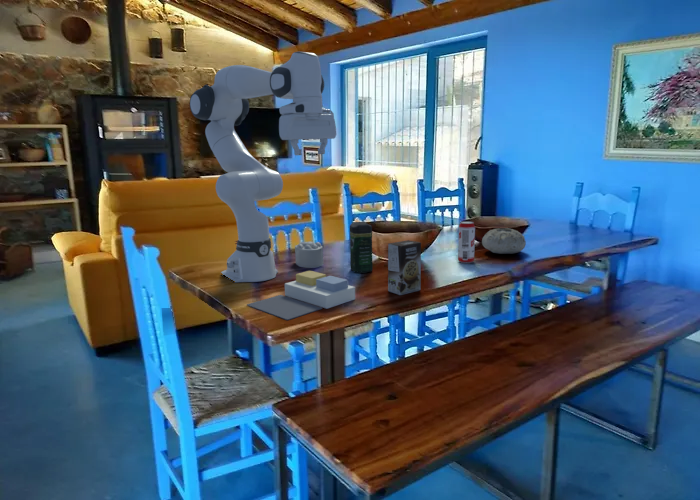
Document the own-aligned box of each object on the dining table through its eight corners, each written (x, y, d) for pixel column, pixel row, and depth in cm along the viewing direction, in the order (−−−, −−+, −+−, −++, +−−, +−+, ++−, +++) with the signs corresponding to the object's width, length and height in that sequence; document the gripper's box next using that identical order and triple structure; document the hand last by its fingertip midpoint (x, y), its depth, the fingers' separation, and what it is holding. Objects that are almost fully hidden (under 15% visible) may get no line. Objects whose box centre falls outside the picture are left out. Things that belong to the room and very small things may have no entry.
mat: (246, 305, 156) (246, 304, 156) (280, 295, 165) (280, 294, 165) (287, 320, 143) (287, 319, 142) (322, 308, 151) (322, 307, 151)
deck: (285, 295, 165) (284, 283, 164) (313, 287, 174) (312, 276, 173) (326, 308, 151) (326, 295, 151) (355, 299, 160) (354, 286, 159)
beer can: (457, 263, 201) (458, 223, 198) (458, 259, 207) (459, 220, 203) (473, 264, 199) (474, 223, 196) (474, 260, 205) (475, 221, 202)
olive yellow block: (296, 281, 167) (295, 274, 166) (310, 277, 171) (309, 270, 170) (312, 286, 161) (311, 278, 160) (326, 282, 165) (326, 274, 165)
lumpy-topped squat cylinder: (317, 259, 214) (316, 239, 212) (327, 266, 202) (326, 244, 200) (293, 262, 210) (292, 241, 208) (302, 269, 198) (301, 247, 197)
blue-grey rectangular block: (316, 287, 160) (316, 279, 159) (330, 283, 164) (330, 275, 163) (333, 292, 154) (333, 284, 154) (348, 287, 158) (347, 279, 158)
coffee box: (400, 295, 162) (400, 246, 159) (387, 291, 167) (387, 243, 164) (421, 290, 167) (421, 242, 164) (408, 286, 172) (408, 239, 169)
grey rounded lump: (530, 257, 208) (532, 233, 206) (486, 258, 209) (487, 233, 207) (517, 248, 226) (519, 225, 224) (477, 248, 226) (478, 226, 224)
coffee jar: (375, 272, 191) (374, 223, 187) (354, 274, 189) (353, 224, 185) (368, 266, 200) (367, 219, 196) (348, 268, 198) (347, 220, 194)
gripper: (326, 109, 163) (328, 153, 166) (274, 108, 149) (277, 156, 152) (340, 108, 159) (341, 153, 162) (288, 106, 145) (290, 156, 148)
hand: (310, 154), depth 157 cm, fingers open, 8 cm apart
